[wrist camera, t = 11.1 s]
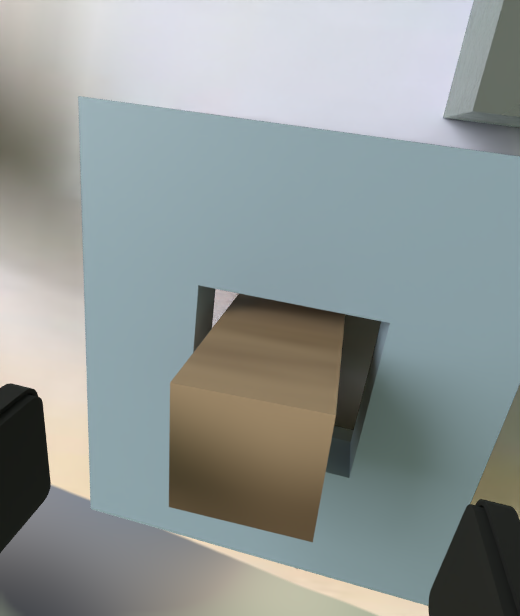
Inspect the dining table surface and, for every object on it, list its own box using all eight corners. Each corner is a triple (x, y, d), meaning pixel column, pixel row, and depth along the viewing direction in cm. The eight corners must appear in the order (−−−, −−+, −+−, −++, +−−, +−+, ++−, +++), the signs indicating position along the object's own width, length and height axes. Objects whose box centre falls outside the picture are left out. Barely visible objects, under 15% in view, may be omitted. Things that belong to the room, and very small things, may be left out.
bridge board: (173, 109, 19) (78, 96, 13) (516, 156, 17) (609, 168, 11) (159, 414, 25) (90, 509, 19) (409, 476, 23) (427, 605, 17)
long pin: (262, 263, 21) (170, 382, 11) (348, 275, 20) (336, 415, 10) (255, 339, 22) (168, 507, 12) (335, 353, 22) (312, 542, 12)
